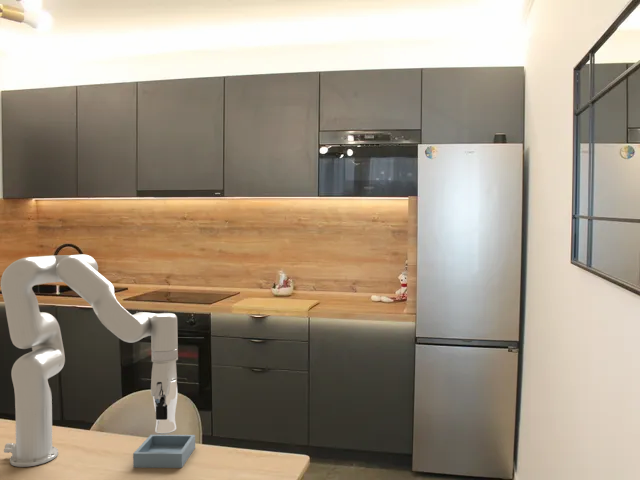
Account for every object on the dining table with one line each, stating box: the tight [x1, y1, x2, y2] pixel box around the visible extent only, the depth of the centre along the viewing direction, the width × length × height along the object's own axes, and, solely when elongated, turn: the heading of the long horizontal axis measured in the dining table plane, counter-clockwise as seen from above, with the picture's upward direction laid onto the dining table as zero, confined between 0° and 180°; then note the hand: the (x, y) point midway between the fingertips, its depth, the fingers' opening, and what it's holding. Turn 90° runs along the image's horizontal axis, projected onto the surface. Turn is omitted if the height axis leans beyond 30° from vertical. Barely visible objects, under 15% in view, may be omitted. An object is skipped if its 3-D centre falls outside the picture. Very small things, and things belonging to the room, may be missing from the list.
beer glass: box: [152, 378, 178, 435], centre depth 154 cm, size 7×7×15 cm
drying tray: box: [132, 434, 196, 469], centre depth 155 cm, size 14×14×4 cm
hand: (165, 414), depth 154 cm, fingers closed on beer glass, 6 cm apart
